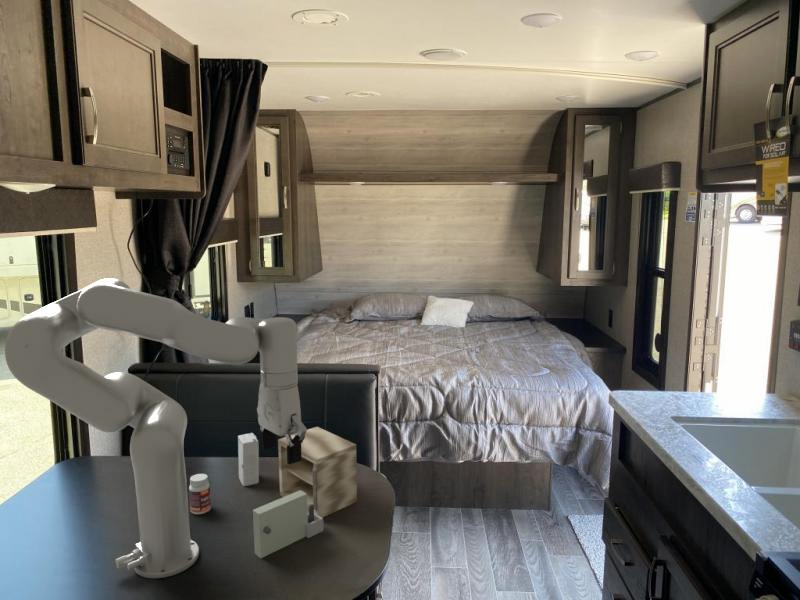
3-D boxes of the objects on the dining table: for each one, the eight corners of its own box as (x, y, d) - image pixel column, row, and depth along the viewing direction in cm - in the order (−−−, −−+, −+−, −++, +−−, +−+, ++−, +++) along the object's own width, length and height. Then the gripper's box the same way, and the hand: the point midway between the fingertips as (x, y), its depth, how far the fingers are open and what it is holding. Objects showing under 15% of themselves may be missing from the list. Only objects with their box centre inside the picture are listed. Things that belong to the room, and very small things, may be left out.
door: (263, 560, 119) (261, 516, 117) (252, 551, 122) (250, 508, 120) (323, 530, 129) (322, 489, 128) (312, 523, 132) (311, 483, 131)
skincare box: (238, 477, 154) (236, 435, 152) (254, 473, 157) (252, 432, 155) (243, 487, 149) (241, 443, 147) (260, 483, 151) (258, 440, 149)
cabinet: (311, 532, 129) (309, 469, 126) (265, 501, 142) (263, 444, 140) (365, 506, 140) (364, 448, 137) (318, 479, 153) (317, 426, 151)
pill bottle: (204, 515, 135) (202, 482, 134) (186, 513, 136) (184, 481, 135) (214, 505, 140) (213, 473, 139) (197, 503, 141) (195, 471, 140)
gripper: (242, 371, 122) (245, 447, 125) (287, 391, 110) (289, 474, 113) (272, 365, 127) (274, 437, 130) (318, 383, 115) (320, 462, 118)
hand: (281, 454), depth 122 cm, fingers open, 9 cm apart
